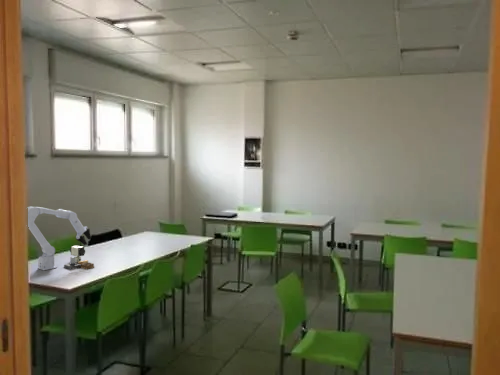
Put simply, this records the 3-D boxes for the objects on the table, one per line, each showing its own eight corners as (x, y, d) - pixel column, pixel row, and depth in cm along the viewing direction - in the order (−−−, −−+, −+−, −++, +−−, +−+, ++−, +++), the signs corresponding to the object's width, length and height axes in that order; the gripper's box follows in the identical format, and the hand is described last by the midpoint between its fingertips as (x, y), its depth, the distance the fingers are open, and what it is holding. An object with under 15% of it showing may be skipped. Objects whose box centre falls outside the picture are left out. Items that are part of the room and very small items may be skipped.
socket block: (70, 269, 288) (70, 266, 288) (64, 267, 293) (64, 264, 292) (81, 267, 294) (81, 264, 294) (74, 265, 299) (74, 262, 299)
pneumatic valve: (79, 263, 306) (80, 246, 305) (69, 261, 312) (69, 244, 311) (86, 261, 311) (86, 245, 310) (76, 259, 317) (76, 243, 316)
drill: (72, 268, 291) (72, 258, 291) (69, 267, 293) (69, 257, 293) (76, 267, 294) (76, 257, 293) (73, 266, 296) (73, 256, 295)
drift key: (79, 266, 296) (79, 262, 296) (77, 266, 298) (77, 261, 297) (88, 264, 302) (88, 260, 302) (86, 264, 303) (86, 260, 303)
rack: (86, 269, 290) (86, 265, 290) (80, 267, 294) (80, 263, 294) (94, 267, 295) (94, 263, 295) (88, 265, 299) (89, 262, 299)
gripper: (78, 229, 294) (88, 245, 299) (86, 219, 307) (96, 234, 312) (69, 232, 295) (79, 248, 300) (78, 222, 308) (88, 237, 314)
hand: (87, 241), depth 306 cm, fingers open, 7 cm apart
